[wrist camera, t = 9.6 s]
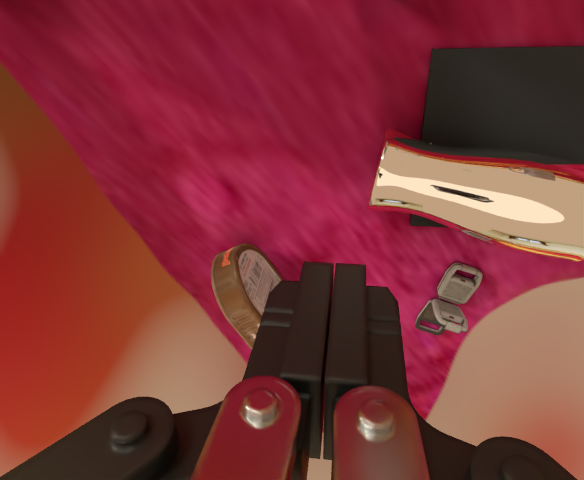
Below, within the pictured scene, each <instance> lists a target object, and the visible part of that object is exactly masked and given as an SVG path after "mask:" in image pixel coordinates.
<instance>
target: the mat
mask: <svg viewBox="0 0 584 480" xmlns="http://www.w3.org/2000/svg"><path fill="white" fill-rule="evenodd" d="M421 141H424V142H427V143H431V144H436V145H442V146H449V147H466V148H492V149H508V150H519V151H528V152H533V153H539V154H545V155H549V156H553V157H557V158H562V159H565V160H569V161H572V162H576V163H580V164H583V165H584V46H563V47H505V48H447V49H432V54H431V62H430V70H429V78H428V86H427V94H426V102H425V110H424V118H423V126H422V134H421ZM410 225H412V226H434V227H448V226H445V225H443V224H440V223H438V222H435V221H433V220H430V219H428V218H424V217H421V216H418V215H414V214H411V221H410Z"/></svg>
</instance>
